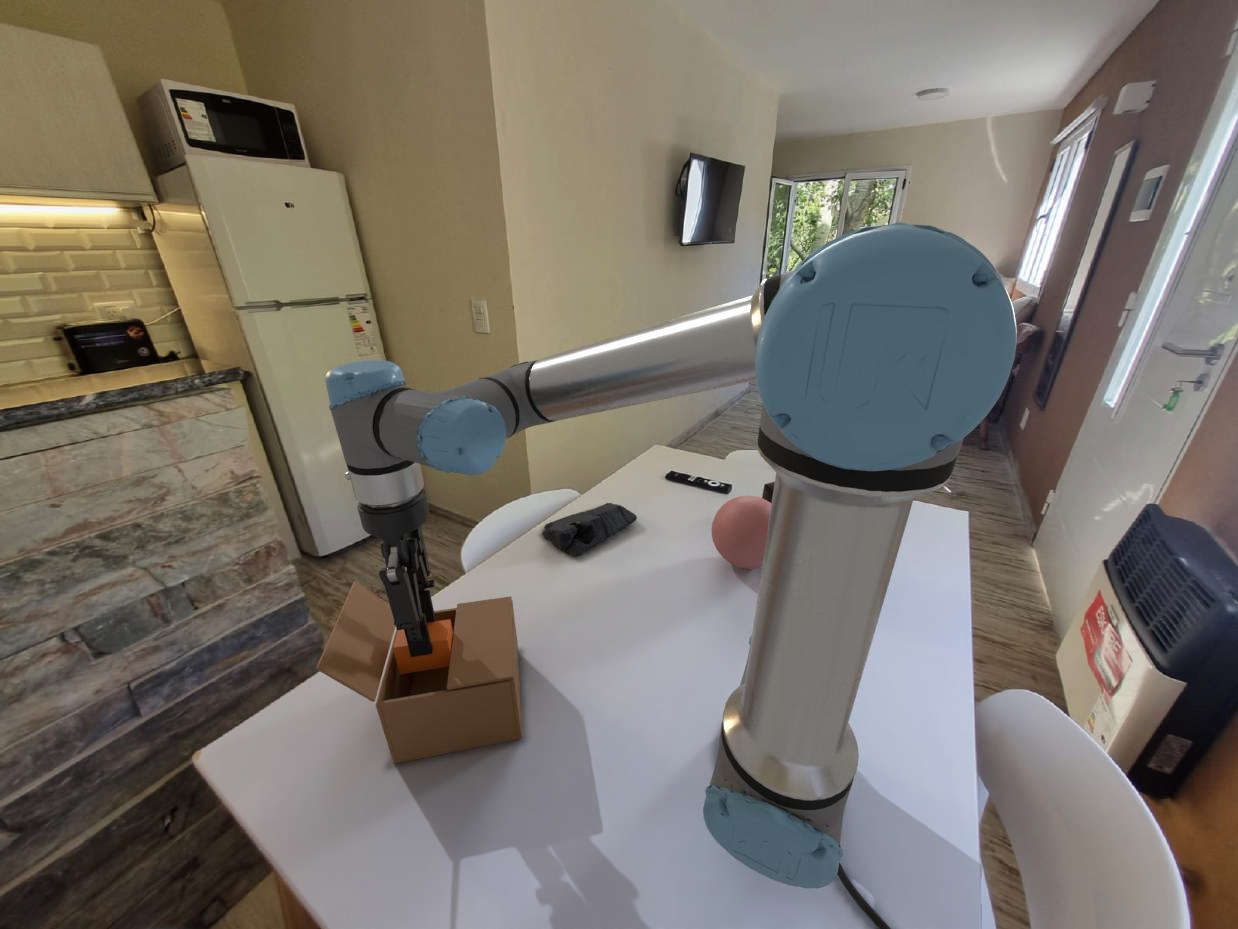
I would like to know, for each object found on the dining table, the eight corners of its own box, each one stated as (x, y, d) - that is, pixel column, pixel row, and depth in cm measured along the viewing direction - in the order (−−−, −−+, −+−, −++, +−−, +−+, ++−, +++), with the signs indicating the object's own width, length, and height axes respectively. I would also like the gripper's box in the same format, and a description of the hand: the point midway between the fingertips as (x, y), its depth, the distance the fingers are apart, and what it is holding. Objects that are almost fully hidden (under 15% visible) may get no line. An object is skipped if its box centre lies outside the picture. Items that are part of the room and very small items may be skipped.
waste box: (521, 738, 68) (513, 676, 62) (393, 764, 64) (373, 700, 59) (518, 652, 82) (511, 595, 77) (413, 669, 79) (398, 611, 73)
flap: (317, 667, 55) (315, 669, 55) (375, 700, 59) (372, 702, 59) (355, 580, 69) (353, 582, 69) (399, 612, 73) (397, 613, 73)
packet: (452, 666, 67) (447, 639, 65) (399, 674, 66) (392, 648, 64) (455, 644, 71) (450, 619, 69) (405, 652, 69) (398, 626, 67)
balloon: (812, 566, 103) (826, 505, 97) (737, 592, 96) (746, 527, 89) (765, 530, 116) (774, 474, 110) (695, 550, 109) (700, 491, 102)
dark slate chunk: (646, 528, 117) (647, 511, 115) (571, 562, 105) (570, 543, 103) (608, 503, 128) (608, 487, 126) (536, 531, 116) (534, 514, 114)
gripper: (374, 466, 64) (406, 603, 74) (334, 537, 49) (382, 697, 59) (433, 461, 65) (457, 596, 75) (412, 528, 50) (446, 686, 60)
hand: (424, 640), depth 67 cm, fingers closed on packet, 4 cm apart
